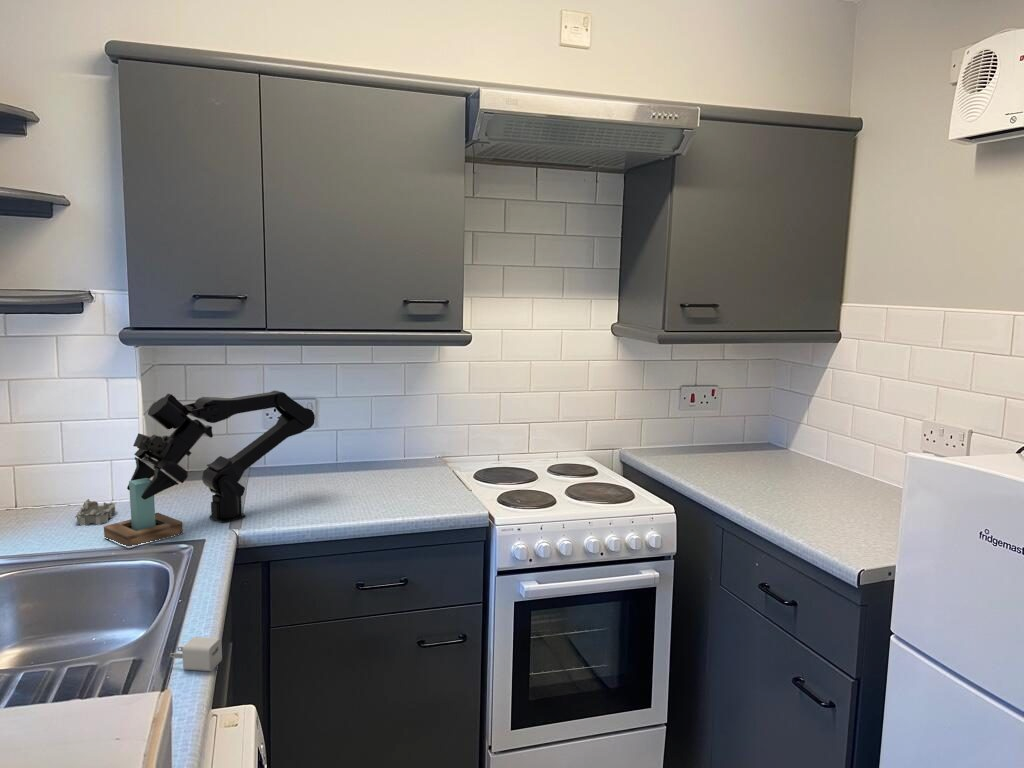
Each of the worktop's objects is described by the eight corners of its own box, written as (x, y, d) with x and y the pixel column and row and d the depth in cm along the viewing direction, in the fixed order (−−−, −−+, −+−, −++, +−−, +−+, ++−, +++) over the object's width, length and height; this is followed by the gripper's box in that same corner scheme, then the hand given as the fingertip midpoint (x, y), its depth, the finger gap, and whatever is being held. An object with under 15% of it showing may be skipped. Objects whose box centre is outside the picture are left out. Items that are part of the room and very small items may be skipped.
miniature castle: (88, 513, 189) (87, 498, 189) (120, 512, 191) (119, 497, 190) (72, 527, 179) (71, 511, 178) (105, 525, 180) (104, 509, 180)
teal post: (149, 530, 176) (147, 477, 174) (156, 534, 173) (153, 481, 171) (132, 534, 173) (128, 481, 171) (138, 538, 170) (135, 484, 168)
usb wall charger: (209, 673, 115) (208, 649, 114) (167, 670, 115) (166, 646, 115) (222, 660, 119) (221, 636, 118) (181, 657, 119) (180, 634, 119)
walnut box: (158, 524, 181) (158, 512, 181) (183, 533, 175) (182, 521, 175) (104, 538, 171) (103, 526, 170) (128, 549, 165) (127, 536, 164)
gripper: (141, 415, 178) (94, 466, 172) (171, 426, 165) (121, 483, 159) (175, 441, 185) (131, 492, 179) (207, 455, 172) (161, 510, 166)
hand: (135, 494), depth 170 cm, fingers open, 9 cm apart
